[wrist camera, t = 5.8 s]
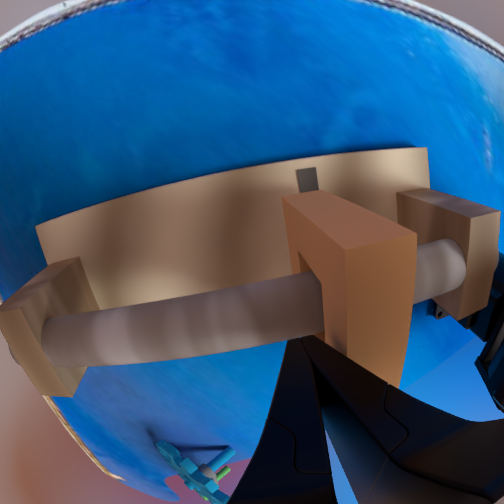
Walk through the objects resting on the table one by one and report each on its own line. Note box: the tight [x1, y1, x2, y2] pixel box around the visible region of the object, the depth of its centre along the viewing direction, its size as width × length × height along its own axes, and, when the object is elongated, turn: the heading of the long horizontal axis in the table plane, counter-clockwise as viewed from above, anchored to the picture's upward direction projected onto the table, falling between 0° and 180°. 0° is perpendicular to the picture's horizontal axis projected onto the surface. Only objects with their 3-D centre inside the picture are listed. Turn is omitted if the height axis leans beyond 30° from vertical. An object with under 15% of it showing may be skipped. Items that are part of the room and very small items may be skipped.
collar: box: [281, 190, 417, 388], centre depth 11 cm, size 2×7×8 cm, turn 11°
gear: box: [155, 439, 236, 504], centre depth 21 cm, size 11×6×10 cm
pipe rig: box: [0, 147, 501, 397], centre depth 13 cm, size 24×10×7 cm, turn 100°
